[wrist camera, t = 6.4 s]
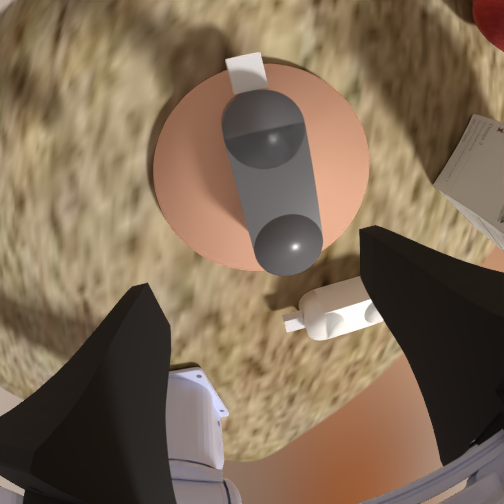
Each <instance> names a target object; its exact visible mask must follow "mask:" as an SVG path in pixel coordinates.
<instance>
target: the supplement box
mask: <svg viewBox="0 0 504 504" xmlns="http://www.w3.org/2000/svg"><path fill="white" fill-rule="evenodd" d="M433 186H434V187H435V188H436V189H437V190H438V191H439V192H440V193H442V194H443V195H444V196H445V197H446V198H447V199H448V200H449V201H450V202H451V203H452V204H453V205H454V206H455V207H456V208H457V209H458V210H459V211H460V212H461V213H462V214H463V215H464V216H465V218H466V219H467V220H468V221H469V222H470V223H471V224H472V225H473V226H474V227H475V228H477V229H478V230H479V231H480V232H482V233H483V234H484V235H485V236H486V237H488V238H489V239H490V240H491V241H492V242H493V243H494V244H496V245H497V246H498V247H499V248H501V249H502V250H503V251H504V123H502V122H499V121H496V120H494V119H490V118H487V117H484V116H481V115H477V114H473V115H472V117H471V120H470V122H469V124H468V126H467V128H466V130H465V132H464V134H463V136H462V138H461V140H460V142H459V144H458V145H457V147H456V149H455V150H454V152H453V154H452V156H451V157H450V159H449V160H448V162H447V164H446V166H445V167H444V169H443V170H442V172H441V173H440V175H439V176H438V178H437V179H436V181H435V182H434V184H433Z"/></svg>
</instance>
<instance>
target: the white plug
mask: <svg viewBox="0 0 504 504" xmlns="http://www.w3.org/2000/svg"><path fill="white" fill-rule="evenodd" d="M298 306H299V310H300V311H297V312H293V313H289V314H286V315H283V320H284V324H285V328H286V332H291V331H294V330H298V329H302V328H305V327H306V330H307V333H308V335H309V337H310V338H312V339H314V340H326V339H329V338H333V337H336V336H339V335H343V334H346V333H349V332H352V331H355V330H358V329H361V328H364V327H367V326H370V325H373V324H376V323H379V322H382V321H384V320H383V318H382V317H381V315H380V314H379V312H378V311H377V309H376V308H375V306H374V304H373V303H372V301H371V299H370V297H369V295H368V293H367V291H366V289H365V287H364V285H363V283H362V280H361V278H360V276H358V277H355V278H351V279H348V280H344V281H341V282H337V283H334V284H330V285H327V286H323V287H320V288H316V289H313V290H310V291H308V292H307V293H305V294H304V295H303V296H302V297H301V299H300V301H299V305H298ZM304 324H305V326H304Z"/></svg>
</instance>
